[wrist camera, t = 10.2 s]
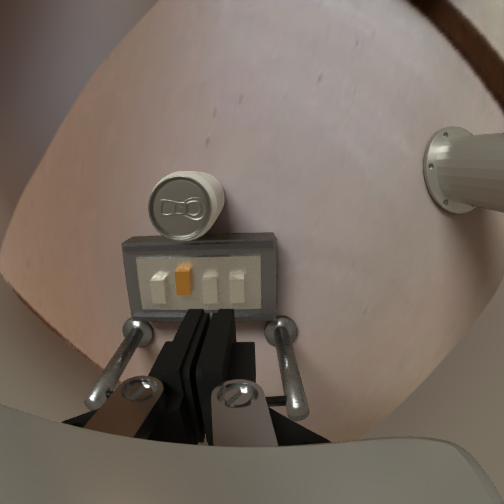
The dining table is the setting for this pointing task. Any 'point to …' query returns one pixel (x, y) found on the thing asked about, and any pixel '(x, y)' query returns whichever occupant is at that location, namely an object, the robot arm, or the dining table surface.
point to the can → (185, 204)
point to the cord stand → (275, 333)
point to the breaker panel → (201, 276)
